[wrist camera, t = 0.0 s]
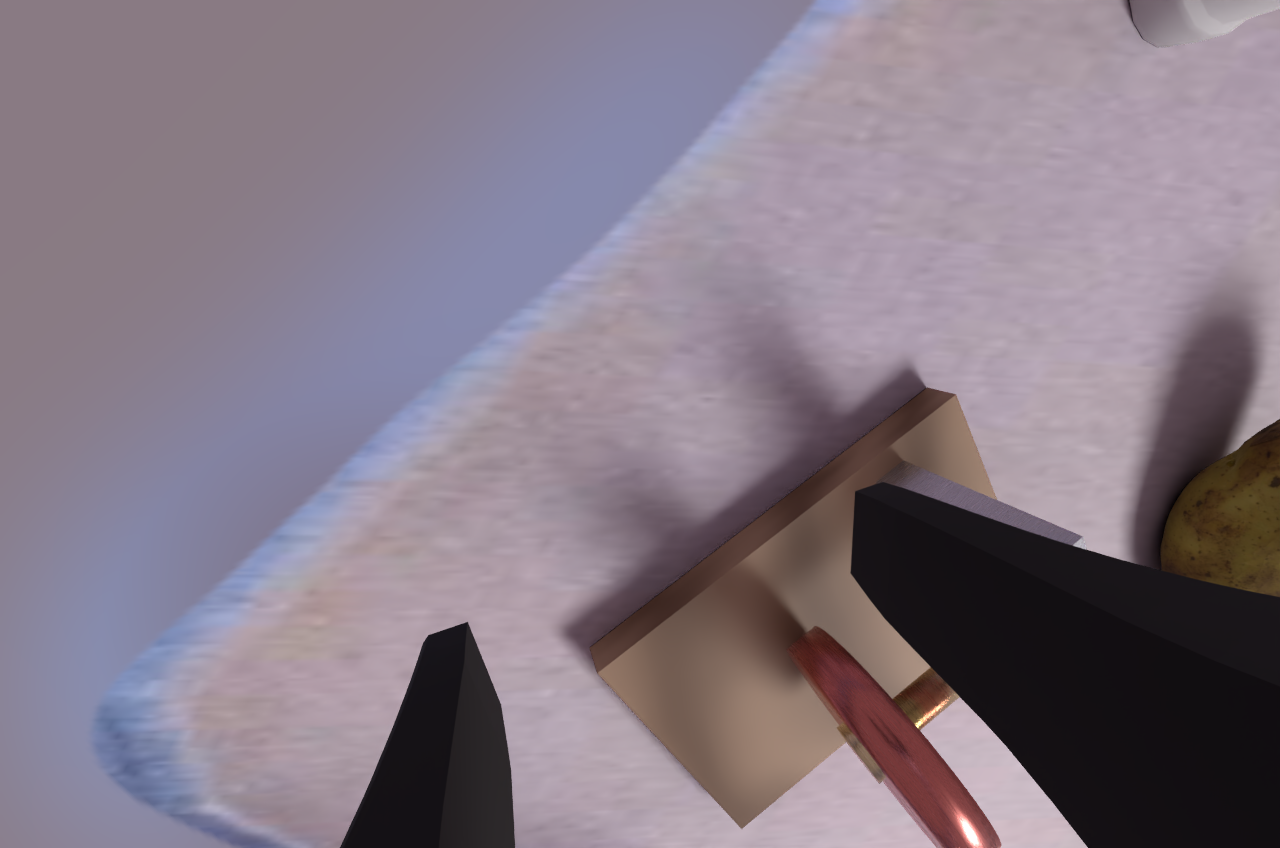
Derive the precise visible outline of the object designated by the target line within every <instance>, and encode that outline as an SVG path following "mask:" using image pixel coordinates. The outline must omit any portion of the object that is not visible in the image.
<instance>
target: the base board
mask: <svg viewBox="0 0 1280 848" xmlns="http://www.w3.org/2000/svg"><path fill="white" fill-rule="evenodd" d="M902 461H906V462H909V463H911V464H913V465H916V466H918V467H920V468H923V469H925V470H927V471H930V472H932V473H934V474H937V475H939V476H941V477H944V478H946V479H949V480H951V481H953V482H956V483H958V484H960V485H963V486H965V487H967V488H970V489H972V490H974V491H977V492H979V493H981V494H984V495H986V496H988V497H991V498H993V499H996V500H997V498H996V496H995V493H994V491H993V488H992V486H991V483H990V480H989V478H988V475H987V473H986V470H985V468H984V465H983V462H982V460H981V457H980V455H979V452H978V450H977V447H976V445H975V442H974V439H973V437H972V434H971V432H970V429H969V427H968V424H967V421H966V419H965V416H964V414H963V411H962V409H961V406H960V403H959V401H958V398H957V396H956V394H952V393H948V392H943V391H939V390H935V389H931V388H926V389H925V390H924V391H922V392H921V393H920V394H918V395H917V396H916V397H914V398H913V399H912V400H911V401H909V402H908V403H907V404H905V405H904V406H903V407H901V408H900V409H899V410H898V411H896V412H895V413H894V414H892V415H891V416H890V417H889V418H887V419H886V420H885V421H883V422H882V423H881V424H879V425H878V426H877V427H876V428H874V429H873V430H872V431H870V432H869V433H868V434H866V435H865V436H864V437H863V438H861V439H860V440H859V441H857V442H856V443H855V444H853V445H852V446H851V447H850V448H848V449H847V450H846V451H844V452H843V453H842V454H841V455H839V456H838V457H837V458H835V459H834V460H833V461H831V462H830V463H829V464H828V465H826V466H825V467H824V468H822V469H821V470H820V471H818V472H817V473H816V474H815V475H813V476H812V477H811V478H809V479H808V480H807V481H805V482H804V483H803V484H802V485H800V486H799V487H798V488H796V489H795V490H794V491H793V492H791V493H790V494H789V495H787V496H786V497H785V498H783V499H782V500H781V501H780V502H778V503H777V504H776V505H774V506H773V507H772V508H770V509H769V510H768V511H767V512H765V513H764V514H763V515H761V516H760V517H759V518H757V519H756V520H755V521H754V522H752V523H751V524H750V525H748V526H747V527H746V528H745V529H743V530H742V531H741V532H739V533H738V534H737V535H735V536H734V537H733V538H732V539H730V540H729V541H728V542H726V543H725V544H724V545H722V546H721V547H720V548H719V549H717V550H716V551H715V552H713V553H712V554H711V555H709V556H708V557H707V558H706V559H704V560H703V561H702V562H700V563H699V564H698V565H697V566H695V567H694V568H693V569H691V570H690V571H689V572H687V573H686V574H685V575H684V576H682V577H681V578H680V579H678V580H677V581H676V582H674V583H673V584H672V585H671V586H669V587H668V588H667V589H665V590H664V591H663V592H662V593H660V594H659V595H658V596H656V597H655V598H654V599H652V600H651V601H650V602H649V603H647V604H646V605H645V606H643V607H642V608H641V609H639V610H638V611H637V612H636V613H634V614H633V615H632V616H630V617H629V618H628V619H626V620H625V621H624V622H623V623H621V624H620V625H619V626H617V627H616V628H615V629H614V630H612V631H611V632H610V633H608V634H607V635H606V636H604V637H603V638H602V639H601V640H599V641H598V642H597V643H595V644H594V645H593V646H591V647H590V651H591V654H592V657H593V661H594V664H595V667H596V670H597V673H598V674H599V676H600V677H601V678H602V679H603V680H604V681H605V682H606V683H607V684H608V685H609V686H610V687H611V688H612V690H613V691H614V692H615V693H616V694H617V695H618V696H619V697H620V698H621V699H622V700H623V701H624V702H625V704H626V705H627V706H628V707H629V708H630V709H631V710H632V711H633V712H634V713H635V714H636V715H637V716H638V718H639V719H640V720H641V721H642V722H643V723H644V724H645V725H646V726H647V727H648V728H649V729H650V731H651V732H652V733H653V734H654V735H655V736H656V737H657V738H658V739H659V740H660V741H661V742H662V743H663V745H664V746H665V747H666V748H667V749H668V750H669V751H670V752H671V753H672V754H673V755H674V756H675V757H676V759H677V760H678V761H679V762H680V763H681V764H682V765H683V766H684V767H685V768H686V769H687V770H688V772H689V773H690V774H691V775H692V776H693V777H694V778H695V779H696V780H697V781H698V782H699V783H700V784H701V786H702V787H703V788H704V789H705V790H706V791H707V792H708V793H709V794H710V795H711V796H712V797H713V798H714V800H715V801H716V802H717V803H718V804H719V805H720V806H721V807H722V808H723V809H724V810H725V811H726V812H727V814H728V815H729V816H730V817H731V818H732V819H733V820H734V821H735V822H736V823H737V824H738V825H739V827H740V828H741V829H742V828H743V827H745V826H746V825H747V824H748V823H749V822H751V821H752V820H753V819H754V818H755V817H757V816H758V815H759V814H760V813H761V812H763V811H764V810H765V809H766V808H767V807H769V806H770V805H771V804H772V803H773V802H775V801H776V800H777V799H778V798H779V797H781V796H782V795H783V794H784V793H785V792H787V791H788V790H789V789H790V788H791V787H793V786H794V785H795V784H796V783H797V782H799V781H800V780H801V779H802V778H803V777H805V776H806V775H807V774H808V773H809V772H811V771H812V770H813V769H814V768H815V767H817V766H818V765H819V764H820V763H822V762H823V761H824V760H825V759H826V758H828V757H829V756H830V755H831V754H832V753H834V752H835V751H836V750H837V749H838V748H840V747H841V746H842V745H843V744H844V743H846V741H845V740H844V738H843V737H842V735H841V734H840V733H839V731H838V730H837V727H838V726H839V724H838V723H837V722H836V720H835V719H834V718H833V716H832V715H831V714H830V712H829V711H828V710H827V708H826V707H825V706H824V704H823V703H822V702H821V700H820V699H819V698H818V696H817V695H816V694H815V692H814V691H813V689H812V688H811V687H810V685H809V684H808V682H807V681H806V680H805V678H804V677H803V675H802V674H801V673H800V671H799V670H798V668H797V667H796V665H795V664H794V662H793V661H792V659H791V657H790V656H789V654H788V652H787V650H786V649H787V648H788V647H789V646H791V645H792V644H793V643H794V642H796V641H797V640H798V639H799V638H801V637H802V636H803V635H804V634H806V633H807V632H808V631H809V630H811V629H812V628H813V627H814V626H818V627H820V628H822V629H823V630H824V631H826V632H827V633H828V634H829V635H831V636H832V637H833V638H834V639H835V640H836V641H837V642H838V643H839V644H841V645H842V646H843V647H844V648H845V649H846V650H847V651H848V652H849V653H850V654H851V655H852V656H853V657H854V658H855V659H856V660H857V661H858V662H859V663H860V664H861V665H862V666H863V667H864V669H865V670H866V671H867V672H868V673H869V674H870V675H871V676H872V677H873V678H874V679H875V680H876V681H877V682H878V684H879V685H880V686H881V687H882V688H883V689H884V690H885V691H886V692H887V693H888V695H889V696H890V697H891V698H892V699H893V698H894V697H895V696H896V695H898V694H899V693H900V692H901V691H902V690H904V689H905V688H906V687H907V686H908V685H910V684H911V683H912V682H913V681H914V680H916V679H917V678H918V677H919V676H920V675H922V674H923V673H924V672H925V671H926V670H928V669H929V668H930V666H929V665H928V664H927V663H926V662H925V661H924V660H923V659H922V657H921V656H920V655H919V654H918V653H917V652H916V651H915V650H914V649H913V648H912V647H911V646H910V645H909V644H908V643H907V642H906V641H905V640H904V639H903V638H902V637H901V636H900V635H899V634H898V632H897V631H896V630H895V629H894V628H893V627H892V626H891V625H890V624H889V623H888V622H887V621H886V620H885V619H884V617H883V616H882V615H881V613H880V612H879V611H878V610H877V608H876V607H875V606H874V604H873V603H872V602H871V601H870V599H869V598H868V597H867V595H866V594H865V593H864V591H863V590H862V588H861V587H860V586H859V584H858V583H857V582H856V580H855V579H854V577H853V576H852V575H851V573H850V572H851V554H852V537H853V519H854V502H855V491H857V490H860V489H863V488H866V487H869V486H872V485H875V484H876V482H877V481H878V480H879V479H880V478H882V477H883V476H884V475H886V474H887V473H888V472H889V471H891V470H892V469H893V468H895V467H896V466H897V465H898V464H900V463H901V462H902Z"/></svg>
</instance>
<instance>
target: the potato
mask: <svg viewBox="0 0 1280 848" xmlns="http://www.w3.org/2000/svg"><path fill="white" fill-rule="evenodd" d="M1160 556H1161V565H1162V571H1165V572H1169V573H1173V574H1177V575H1181V576H1185V577H1189V578H1193V579H1197V580H1201V581H1206V582H1210V583H1215V584H1219V585H1224V586H1228V587H1233V588H1237V589H1242V590H1247V591H1252V592H1257V593H1262V594H1267V595H1272V596H1277V597H1280V419H1279V420H1277V421H1276V422H1274V423H1273V424H1271V425H1269V426H1267V427H1266V428H1264V429H1262V430H1261V431H1259V432H1258V433H1256V434H1255V435H1254V436H1252V437H1251V438H1250V439H1248V440H1247V441H1245V442H1244V444H1243V445H1242V446H1241V447H1240V448H1239V449H1238V450H1236V451H1234V452H1233V453H1231V454H1229V455H1227V456H1226V457H1224V458H1222V459H1220V460H1218V461H1216V462H1215V463H1213V464H1211V465H1210V466H1208V467H1207V468H1205V469H1204V470H1202V471H1201V472H1200V473H1199V474H1198V475H1197V476H1196V477H1195V478H1194V479H1193V480H1192V481H1191V482H1190V483H1189V484H1188V485H1187V486H1186V487H1185V488H1184V490H1183V491H1182V493H1181V494H1180V496H1179V497H1178V499H1177V501H1176V502H1175V504H1174V506H1173V508H1172V510H1171V512H1170V514H1169V516H1168V519H1167V522H1166V525H1165V530H1164V535H1163V539H1162V543H1161V555H1160Z"/></svg>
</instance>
